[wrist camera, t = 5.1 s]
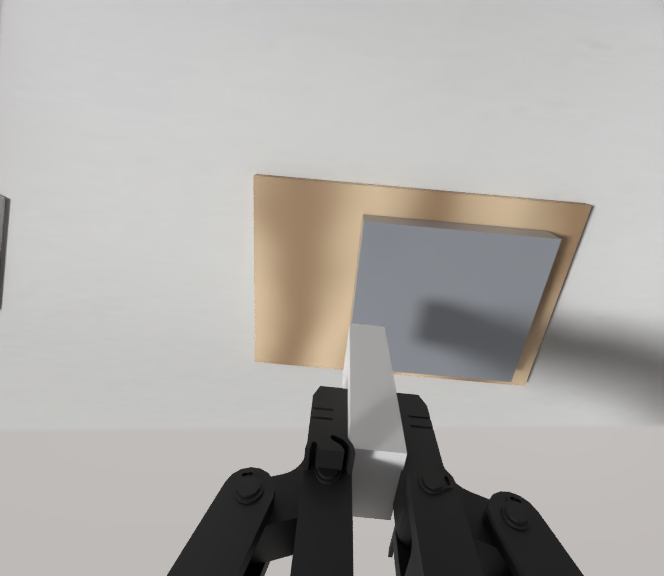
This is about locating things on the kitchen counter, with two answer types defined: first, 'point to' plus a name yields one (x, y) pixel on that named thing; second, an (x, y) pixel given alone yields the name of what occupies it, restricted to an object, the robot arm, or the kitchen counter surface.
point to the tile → (451, 293)
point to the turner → (1, 220)
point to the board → (342, 252)
